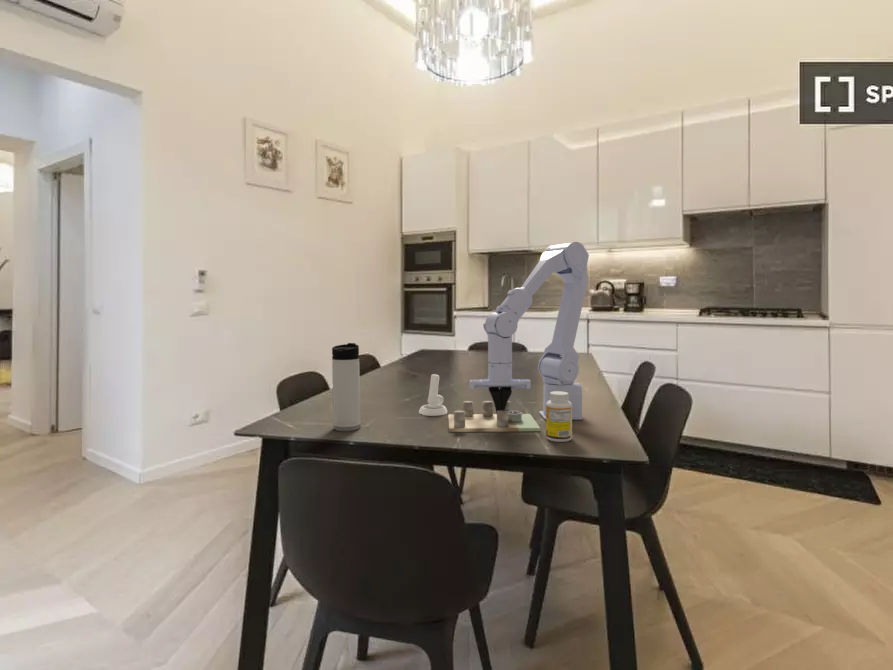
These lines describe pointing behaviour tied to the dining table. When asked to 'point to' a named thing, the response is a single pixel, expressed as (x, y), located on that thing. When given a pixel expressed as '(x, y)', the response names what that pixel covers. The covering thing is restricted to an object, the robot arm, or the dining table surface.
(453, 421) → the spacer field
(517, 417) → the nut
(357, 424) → the travel mug
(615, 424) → the dining table surface
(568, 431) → the supplement bottle
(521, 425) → the felt mat
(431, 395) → the hook
